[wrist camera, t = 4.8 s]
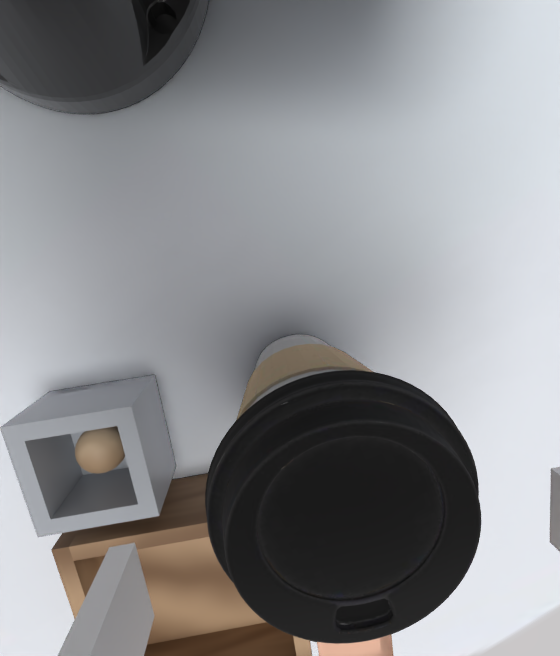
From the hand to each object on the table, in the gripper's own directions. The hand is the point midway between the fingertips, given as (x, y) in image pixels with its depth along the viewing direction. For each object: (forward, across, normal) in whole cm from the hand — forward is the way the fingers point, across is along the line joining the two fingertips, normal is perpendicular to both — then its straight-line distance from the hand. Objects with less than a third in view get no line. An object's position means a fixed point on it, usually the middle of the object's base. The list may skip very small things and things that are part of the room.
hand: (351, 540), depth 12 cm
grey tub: (+15, -13, -2) cm, 20 cm away
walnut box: (+15, -9, -13) cm, 22 cm away
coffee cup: (+15, 0, 0) cm, 15 cm away
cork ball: (+14, -13, -2) cm, 19 cm away
